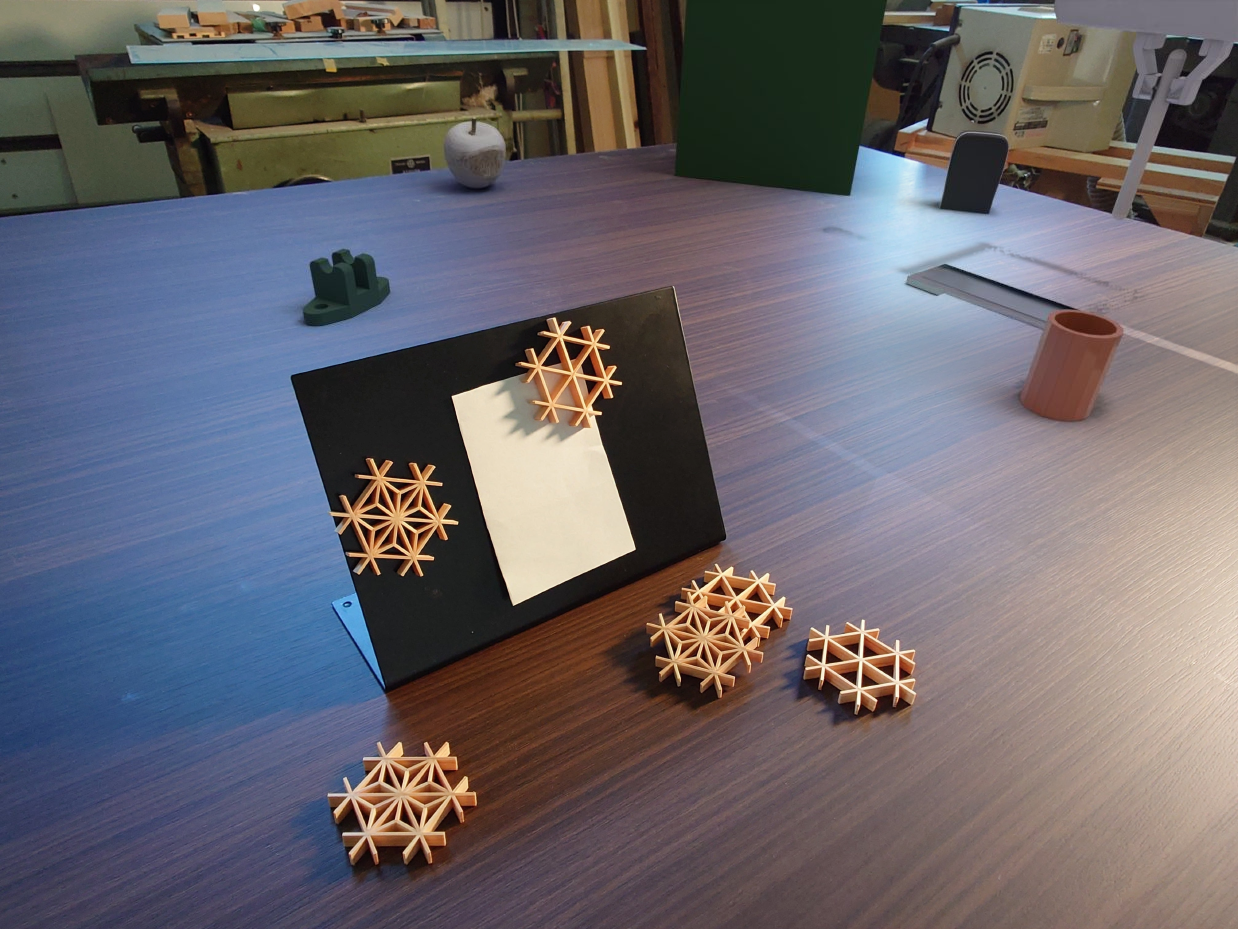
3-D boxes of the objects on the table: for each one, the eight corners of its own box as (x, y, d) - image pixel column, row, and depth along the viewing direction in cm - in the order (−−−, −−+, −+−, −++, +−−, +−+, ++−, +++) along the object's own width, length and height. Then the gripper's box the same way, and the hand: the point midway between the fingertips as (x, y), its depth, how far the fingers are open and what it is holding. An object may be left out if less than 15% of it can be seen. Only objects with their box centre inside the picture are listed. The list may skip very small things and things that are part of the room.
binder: (673, 176, 127) (689, -68, 109) (692, 155, 138) (710, -69, 121) (850, 195, 121) (898, -60, 103) (854, 171, 133) (898, -61, 115)
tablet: (1132, 305, 88) (1135, 296, 88) (1057, 340, 80) (1060, 331, 79) (983, 256, 100) (986, 249, 99) (905, 283, 92) (907, 274, 91)
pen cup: (1099, 414, 68) (1136, 327, 63) (1066, 434, 65) (1103, 343, 61) (1038, 389, 71) (1069, 304, 67) (1005, 406, 69) (1035, 319, 64)
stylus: (1128, 220, 70) (1191, 49, 62) (1121, 222, 69) (1185, 50, 62) (1113, 216, 70) (1175, 47, 63) (1107, 219, 70) (1168, 48, 62)
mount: (369, 284, 87) (362, 238, 84) (402, 292, 85) (396, 245, 82) (292, 320, 79) (281, 270, 76) (326, 330, 77) (317, 279, 74)
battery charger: (986, 216, 114) (1011, 131, 108) (988, 224, 111) (1014, 136, 104) (934, 210, 115) (956, 126, 109) (935, 218, 112) (957, 131, 106)
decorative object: (480, 176, 124) (475, 106, 118) (519, 187, 119) (517, 115, 113) (434, 187, 118) (427, 113, 112) (473, 199, 113) (468, 124, 108)
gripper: (1439, -113, 52) (1328, 119, 59) (1115, -110, 65) (1058, 79, 72) (1412, -117, 48) (1298, 128, 56) (1076, -113, 61) (1022, 85, 69)
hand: (1161, 100), depth 64 cm, fingers closed on stylus, 1 cm apart
